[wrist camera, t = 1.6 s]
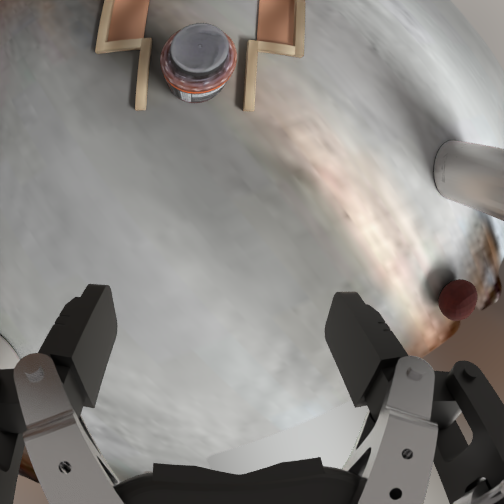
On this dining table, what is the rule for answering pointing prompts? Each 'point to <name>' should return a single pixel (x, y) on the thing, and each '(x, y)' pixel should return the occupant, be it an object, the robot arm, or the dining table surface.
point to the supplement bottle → (198, 62)
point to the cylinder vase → (7, 355)
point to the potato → (458, 299)
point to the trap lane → (268, 40)
